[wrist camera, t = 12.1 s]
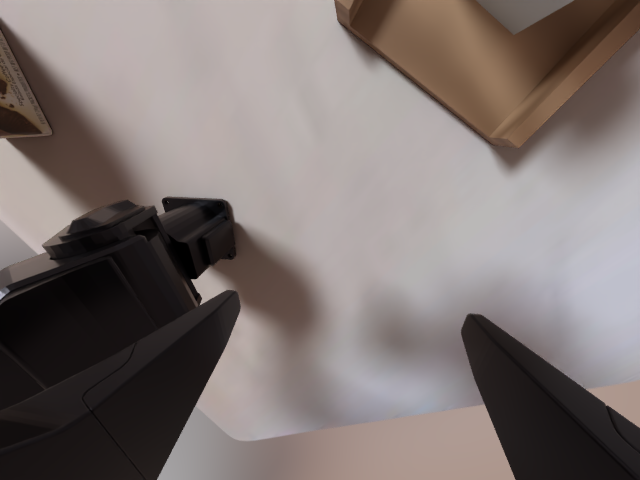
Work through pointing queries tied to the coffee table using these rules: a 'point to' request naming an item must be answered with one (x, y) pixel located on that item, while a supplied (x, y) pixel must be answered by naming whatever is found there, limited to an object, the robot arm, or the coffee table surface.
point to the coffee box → (17, 100)
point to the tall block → (521, 11)
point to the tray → (493, 55)
